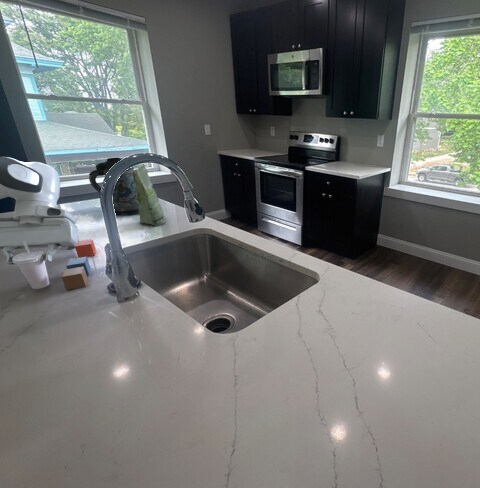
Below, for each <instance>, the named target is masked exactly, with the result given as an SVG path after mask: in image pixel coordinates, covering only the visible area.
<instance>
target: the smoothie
mask: <svg viewBox="0 0 480 488" xmlns="http://www.w3.org/2000/svg"><path fill="white" fill-rule="evenodd" d="M23 244H24V246H25V248H26V249H25V250H26V251H23V252H21V253H18V254H16V255H13V256H14V257H13V258H12V260H13V263H15V264H14V265H16V266H17V268H18V269H19V271H20V272H21V274H22V275H23V276H24V278H25V279H26V281H27V283H28V284H29V285H30V287H31V288H32V290H40V289H44V288H46V287H48V286H49V285H50V279H49V274H48V270H47V266H46V262H44V261H42V254H45V252H44V251H42V250H39V249H37V250H35V249H34V250H30V249H29V248H28V246H27V244H26V241H23Z"/></svg>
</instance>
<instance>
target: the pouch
mask: <svg viewBox="0 0 480 488" xmlns="http://www.w3.org/2000/svg"><path fill="white" fill-rule="evenodd" d="M133 178H134V181H135V185H136V192H137V200H138V201H139V205H140V207H139V209H138V210H139V214H138V216H139V224H145V225H146V224H147V225H152V226H154V227H157V226H160V225H163V224H164V223H166V221H167V218H166V215H165V213H164V210H163V208H162V205H161V203H160V199H159V196H158V194H157V192H156V191H155V188H154V185H153V183H152V182H151V178H150V176H149V172H148V169H147V168H146V165H145V164H144V163H142V165H141V166H138V168H135V169H134V172H133Z"/></svg>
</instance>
